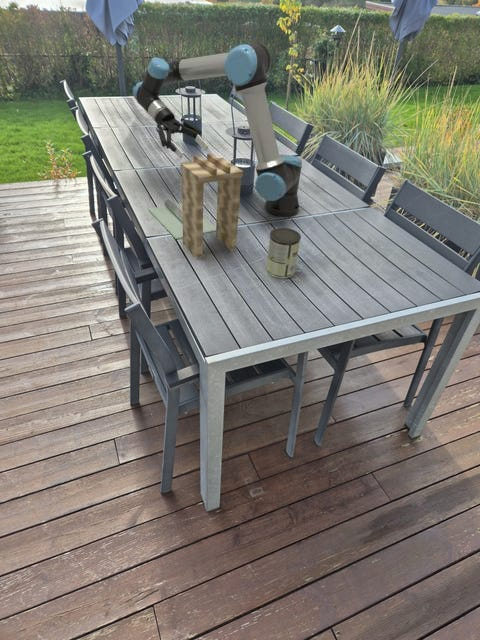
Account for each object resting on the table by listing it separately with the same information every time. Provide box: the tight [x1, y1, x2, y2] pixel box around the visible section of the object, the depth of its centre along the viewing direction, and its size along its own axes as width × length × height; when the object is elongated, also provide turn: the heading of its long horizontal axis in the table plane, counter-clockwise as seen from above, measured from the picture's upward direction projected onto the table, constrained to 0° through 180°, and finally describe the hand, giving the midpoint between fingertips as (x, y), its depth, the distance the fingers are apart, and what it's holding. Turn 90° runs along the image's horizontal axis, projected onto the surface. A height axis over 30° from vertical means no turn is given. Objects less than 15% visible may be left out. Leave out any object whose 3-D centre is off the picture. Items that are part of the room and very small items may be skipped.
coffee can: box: [265, 227, 302, 279], centre depth 150 cm, size 10×10×14 cm
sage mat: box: [148, 202, 216, 240], centre depth 179 cm, size 28×18×1 cm, turn 31°
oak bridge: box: [180, 152, 244, 260], centre depth 153 cm, size 14×16×32 cm
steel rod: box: [164, 199, 183, 222], centre depth 179 cm, size 24×3×3 cm, turn 31°
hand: (194, 152), depth 173 cm, fingers open, 13 cm apart
